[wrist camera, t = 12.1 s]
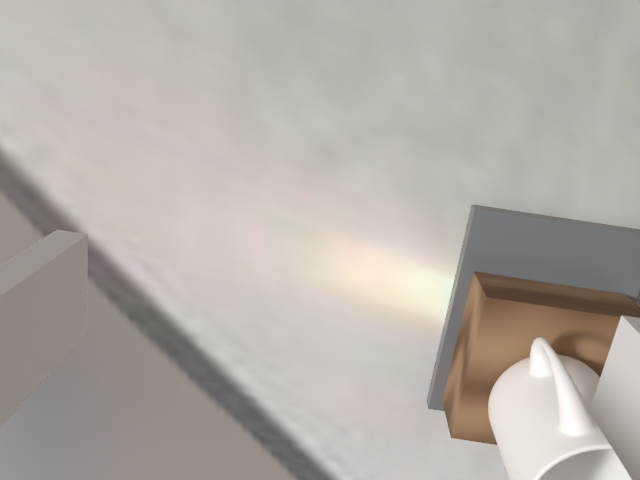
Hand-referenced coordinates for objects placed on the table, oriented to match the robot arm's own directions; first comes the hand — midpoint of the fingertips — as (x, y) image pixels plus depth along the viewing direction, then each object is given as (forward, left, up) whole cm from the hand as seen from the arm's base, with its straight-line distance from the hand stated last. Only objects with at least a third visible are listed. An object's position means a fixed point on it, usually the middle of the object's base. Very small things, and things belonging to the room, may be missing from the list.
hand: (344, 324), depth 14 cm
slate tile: (+13, +17, -32) cm, 38 cm away
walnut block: (+15, +17, -30) cm, 38 cm away
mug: (+15, +16, -26) cm, 34 cm away
